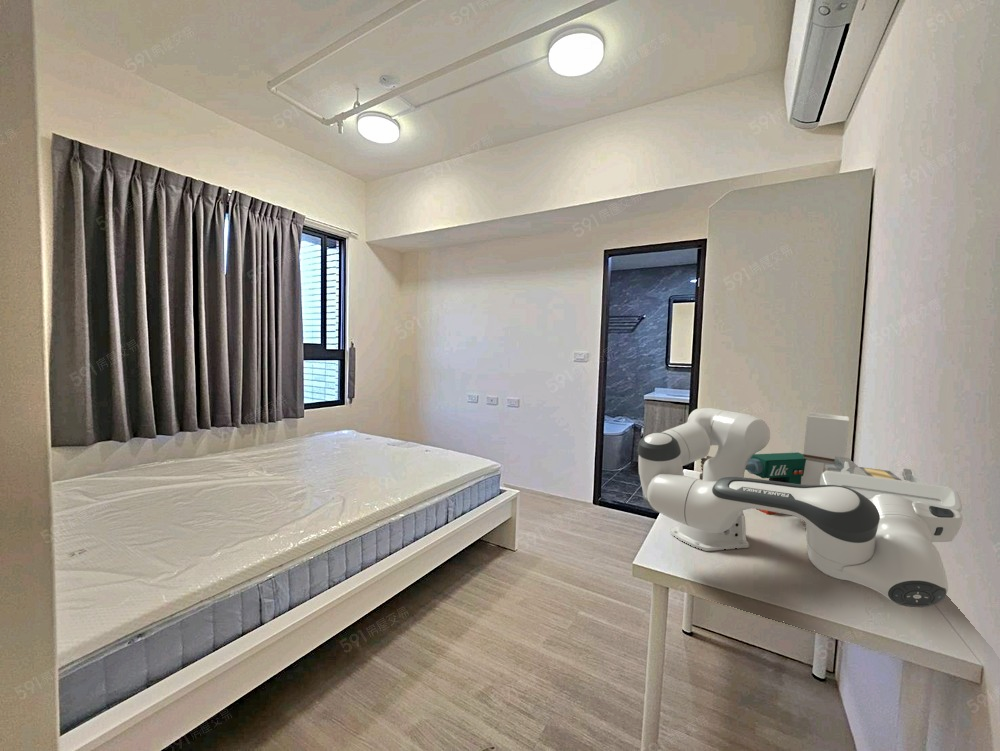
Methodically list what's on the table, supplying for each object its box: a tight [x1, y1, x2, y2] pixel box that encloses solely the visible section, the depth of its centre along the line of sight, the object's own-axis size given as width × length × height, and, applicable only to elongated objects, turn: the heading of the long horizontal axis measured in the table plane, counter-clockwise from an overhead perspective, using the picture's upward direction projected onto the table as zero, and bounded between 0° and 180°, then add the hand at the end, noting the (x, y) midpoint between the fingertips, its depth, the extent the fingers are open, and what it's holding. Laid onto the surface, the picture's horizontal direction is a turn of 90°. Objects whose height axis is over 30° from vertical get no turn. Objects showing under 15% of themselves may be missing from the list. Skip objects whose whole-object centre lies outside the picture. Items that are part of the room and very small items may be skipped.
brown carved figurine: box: [699, 455, 713, 480], centre depth 167 cm, size 6×6×15 cm
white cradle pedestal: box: [801, 412, 850, 485], centre depth 147 cm, size 11×11×35 cm
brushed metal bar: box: [834, 456, 868, 476], centre depth 104 cm, size 23×3×2 cm, turn 150°
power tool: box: [745, 452, 806, 515], centre depth 147 cm, size 32×7×20 cm, turn 104°
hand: (877, 467), depth 86 cm, fingers open, 8 cm apart
